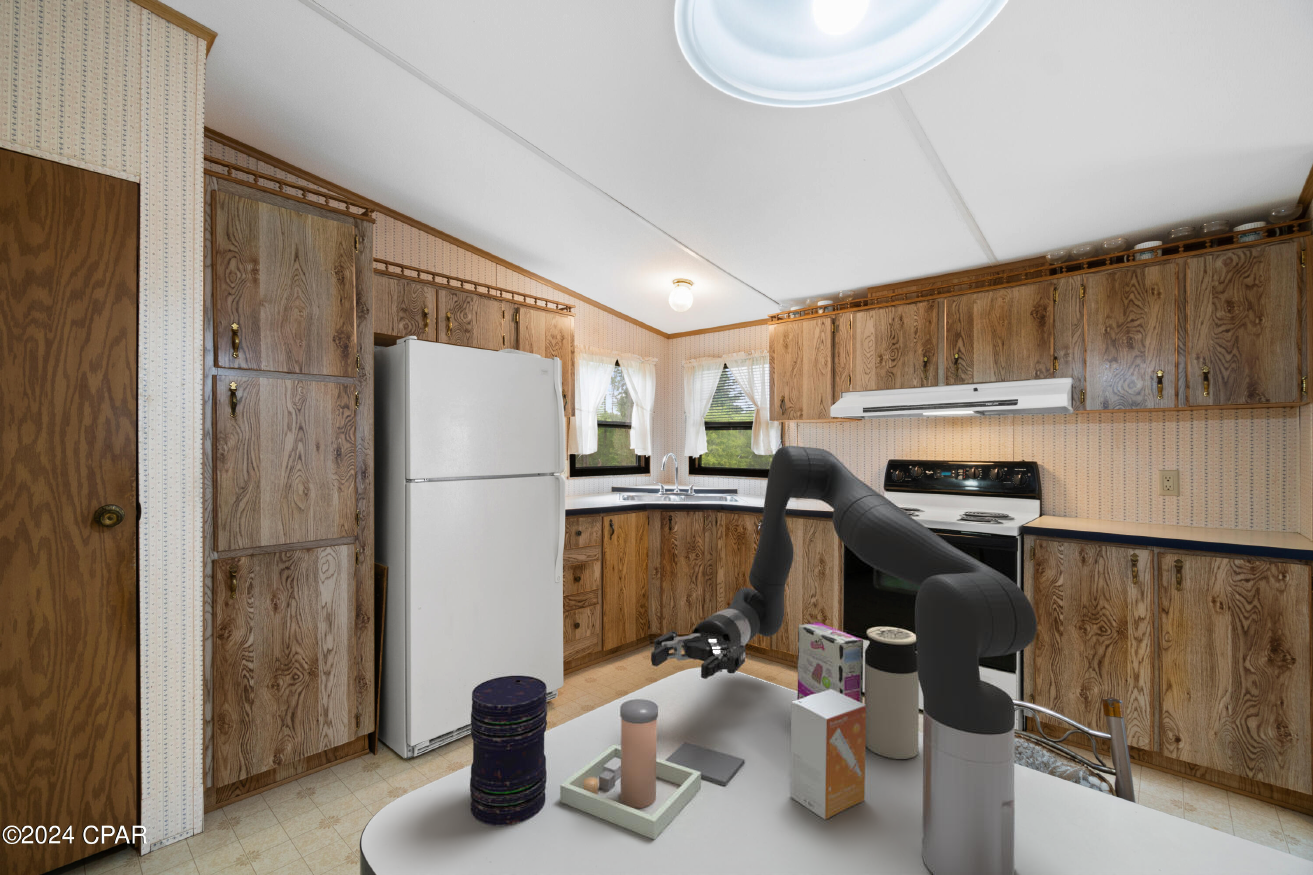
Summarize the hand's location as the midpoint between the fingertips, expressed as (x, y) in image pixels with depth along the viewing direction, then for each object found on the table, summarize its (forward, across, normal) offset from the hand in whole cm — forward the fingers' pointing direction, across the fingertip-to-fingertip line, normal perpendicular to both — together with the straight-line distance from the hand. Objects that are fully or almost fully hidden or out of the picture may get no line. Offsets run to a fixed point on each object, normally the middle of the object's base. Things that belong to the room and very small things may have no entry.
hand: (678, 665), depth 91 cm
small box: (-2, +22, +14) cm, 26 cm away
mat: (0, +4, +14) cm, 15 cm away
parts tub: (+12, -1, +14) cm, 18 cm away
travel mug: (-20, +27, +14) cm, 37 cm away
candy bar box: (-22, +17, +14) cm, 31 cm away
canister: (+12, 0, +14) cm, 18 cm away
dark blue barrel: (+22, -14, +14) cm, 29 cm away
